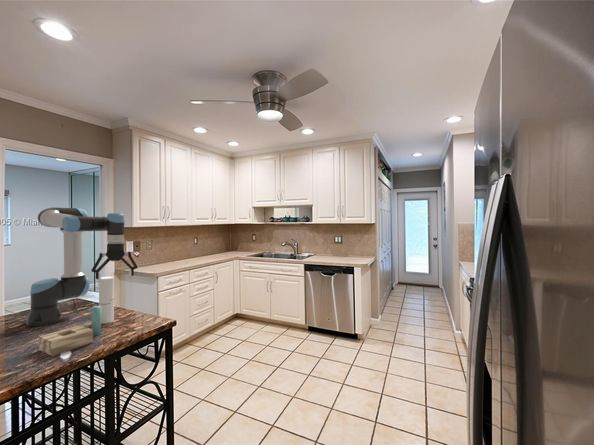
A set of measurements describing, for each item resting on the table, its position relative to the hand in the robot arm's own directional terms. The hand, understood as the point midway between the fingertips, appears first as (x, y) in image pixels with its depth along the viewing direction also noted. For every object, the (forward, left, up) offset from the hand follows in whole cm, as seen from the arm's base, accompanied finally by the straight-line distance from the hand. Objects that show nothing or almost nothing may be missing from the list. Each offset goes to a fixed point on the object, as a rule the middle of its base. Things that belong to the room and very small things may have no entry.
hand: (115, 283), depth 151 cm
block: (-2, -20, -25) cm, 33 cm away
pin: (-5, -7, -25) cm, 26 cm away
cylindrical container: (-20, +6, -25) cm, 33 cm away
